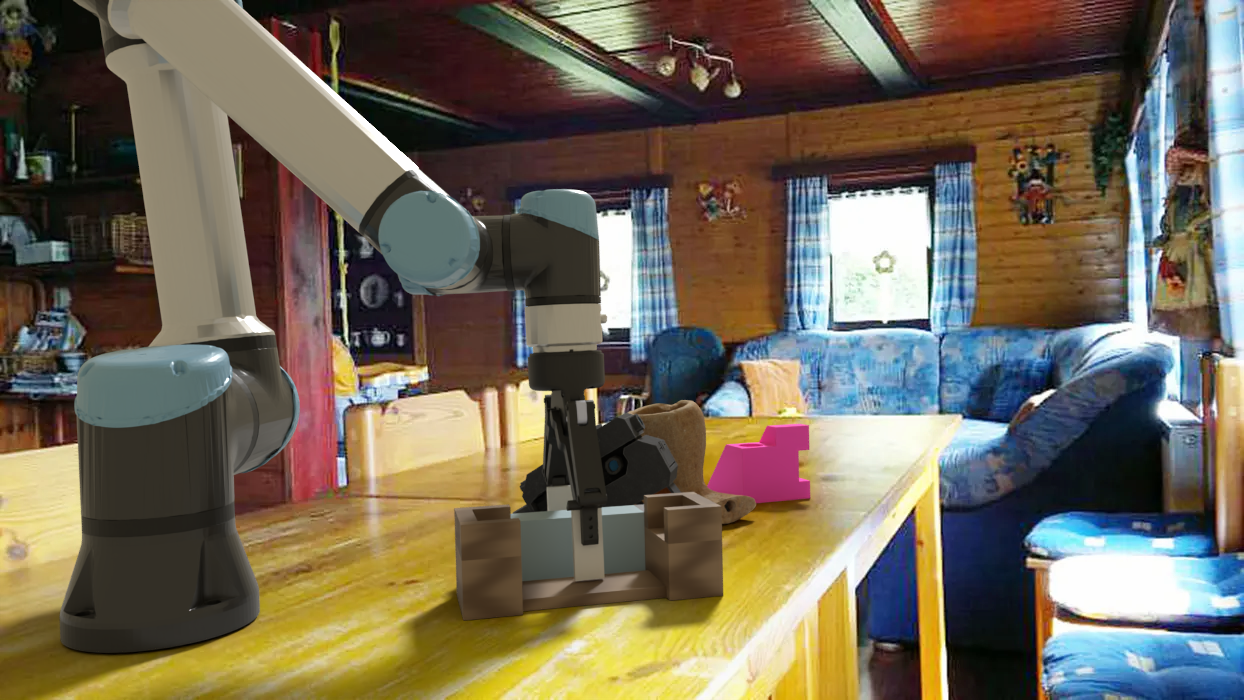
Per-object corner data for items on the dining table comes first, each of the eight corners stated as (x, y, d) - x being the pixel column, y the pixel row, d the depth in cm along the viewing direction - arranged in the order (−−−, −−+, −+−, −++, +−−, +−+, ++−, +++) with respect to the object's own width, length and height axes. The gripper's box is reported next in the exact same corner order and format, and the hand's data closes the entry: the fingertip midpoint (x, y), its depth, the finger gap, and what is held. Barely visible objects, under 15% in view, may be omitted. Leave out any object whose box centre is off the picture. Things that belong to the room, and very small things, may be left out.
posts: (463, 620, 79) (460, 525, 79) (456, 594, 87) (454, 508, 86) (723, 595, 84) (721, 506, 84) (695, 573, 92) (693, 491, 92)
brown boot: (604, 522, 118) (601, 403, 118) (660, 507, 127) (657, 396, 127) (706, 536, 109) (703, 406, 108) (758, 518, 118) (756, 399, 118)
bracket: (810, 499, 131) (808, 425, 131) (743, 505, 128) (741, 429, 128) (769, 486, 142) (768, 418, 142) (707, 491, 139) (705, 422, 139)
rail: (482, 587, 89) (480, 524, 89) (478, 576, 93) (476, 516, 93) (664, 571, 93) (663, 510, 93) (653, 561, 97) (652, 503, 97)
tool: (702, 523, 102) (631, 403, 103) (555, 605, 105) (488, 489, 107) (708, 512, 108) (641, 399, 109) (569, 591, 111) (506, 480, 113)
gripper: (634, 347, 82) (644, 589, 82) (578, 347, 106) (586, 533, 107) (548, 351, 80) (559, 599, 80) (511, 350, 104) (520, 540, 105)
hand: (575, 563), depth 93 cm, fingers open, 13 cm apart
